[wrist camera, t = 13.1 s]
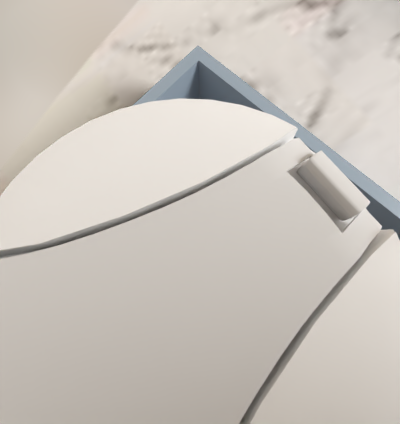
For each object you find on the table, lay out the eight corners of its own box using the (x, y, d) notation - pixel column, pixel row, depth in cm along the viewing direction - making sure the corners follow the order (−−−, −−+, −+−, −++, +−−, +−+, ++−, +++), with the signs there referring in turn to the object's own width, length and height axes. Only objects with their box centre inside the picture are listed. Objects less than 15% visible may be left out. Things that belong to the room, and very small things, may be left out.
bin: (404, 267, 24) (483, 266, 18) (216, 515, 21) (222, 638, 14) (199, 99, 28) (197, 45, 22) (9, 281, 25) (-66, 286, 18)
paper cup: (209, 198, 19) (225, -3, 5) (282, 288, 17) (589, 362, 3) (117, 267, 18) (-188, 261, 4) (186, 368, 16) (91, 903, 3)
